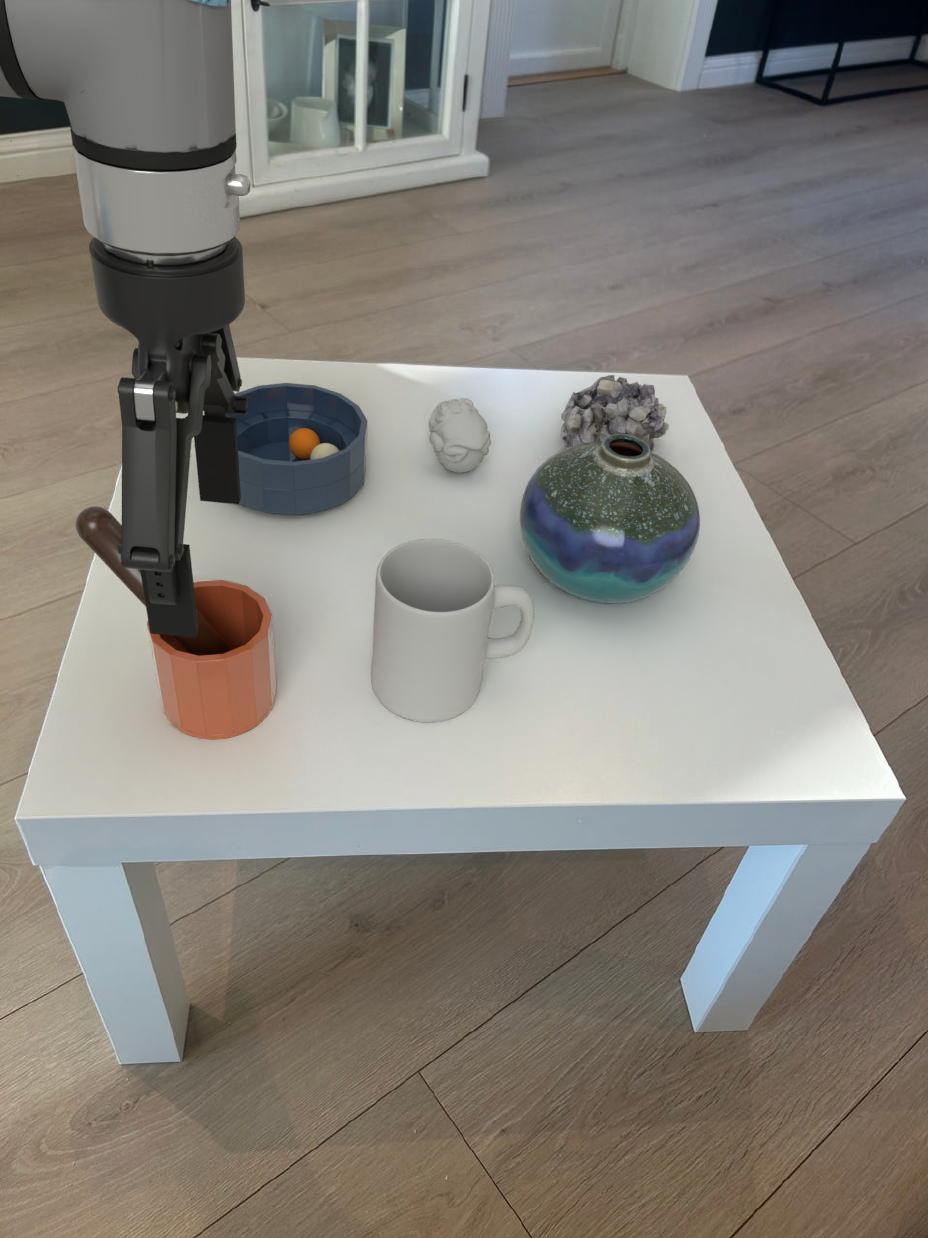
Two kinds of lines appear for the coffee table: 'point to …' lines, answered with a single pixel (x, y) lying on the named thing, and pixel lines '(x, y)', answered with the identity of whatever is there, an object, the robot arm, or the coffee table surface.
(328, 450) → the ball
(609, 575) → the vase
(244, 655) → the holder
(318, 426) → the bowl
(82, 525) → the stick
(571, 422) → the mineral specimen
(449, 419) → the frog figurine
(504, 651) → the mug
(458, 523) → the coffee table surface
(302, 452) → the ball
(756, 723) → the coffee table surface
